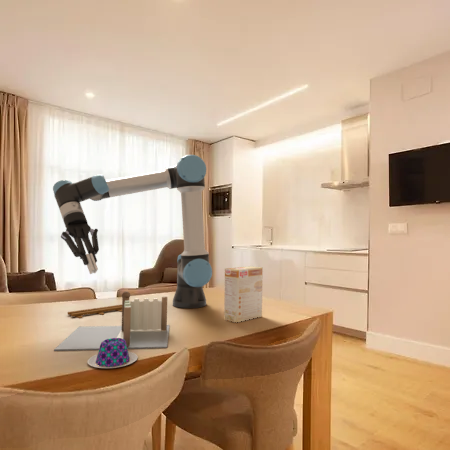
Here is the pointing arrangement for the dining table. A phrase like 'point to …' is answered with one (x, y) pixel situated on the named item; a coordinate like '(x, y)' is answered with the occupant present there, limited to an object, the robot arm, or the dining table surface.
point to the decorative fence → (95, 311)
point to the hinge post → (124, 298)
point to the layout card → (97, 334)
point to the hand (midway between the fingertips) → (93, 271)
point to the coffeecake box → (243, 293)
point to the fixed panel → (149, 314)
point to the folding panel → (127, 322)
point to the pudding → (112, 354)
